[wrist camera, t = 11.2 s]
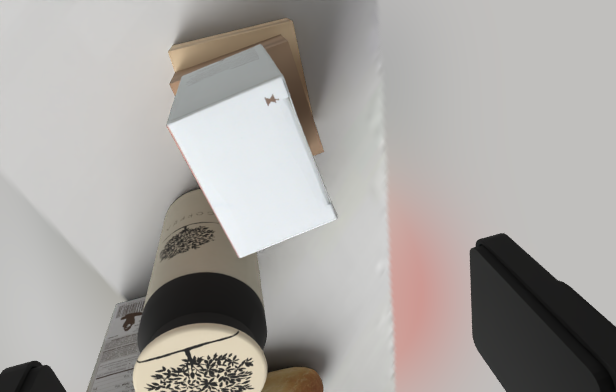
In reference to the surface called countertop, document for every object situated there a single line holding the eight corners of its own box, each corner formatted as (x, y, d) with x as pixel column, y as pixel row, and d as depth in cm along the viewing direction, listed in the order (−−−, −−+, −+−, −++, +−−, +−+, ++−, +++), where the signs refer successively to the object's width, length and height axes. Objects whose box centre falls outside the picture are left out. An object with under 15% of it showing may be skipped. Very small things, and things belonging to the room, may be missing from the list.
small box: (180, 74, 29) (160, 120, 19) (262, 41, 29) (282, 70, 19) (232, 181, 32) (237, 263, 23) (305, 151, 32) (340, 221, 23)
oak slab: (173, 44, 35) (167, 51, 32) (285, 17, 36) (292, 21, 32) (208, 150, 39) (207, 167, 36) (308, 124, 40) (317, 138, 36)
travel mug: (257, 255, 44) (278, 413, 28) (173, 268, 43) (145, 439, 27) (247, 181, 40) (264, 312, 24) (155, 192, 39) (110, 338, 23)
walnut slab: (175, 72, 32) (169, 84, 29) (280, 34, 32) (288, 40, 29) (218, 169, 36) (219, 190, 32) (313, 135, 36) (324, 151, 32)
